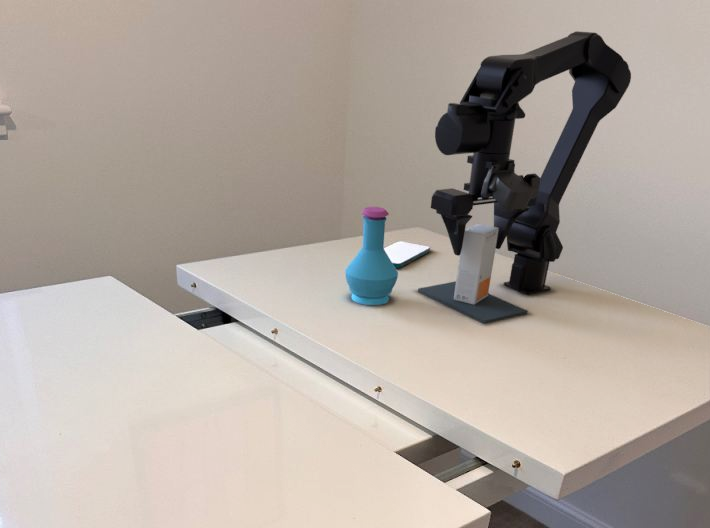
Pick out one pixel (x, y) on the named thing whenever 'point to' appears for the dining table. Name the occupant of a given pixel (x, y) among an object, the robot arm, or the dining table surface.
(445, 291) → the side mat
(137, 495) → the dining table surface
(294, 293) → the dining table surface
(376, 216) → the perfume bottle
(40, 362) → the dining table surface
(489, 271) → the cosmetic box
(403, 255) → the smartphone
